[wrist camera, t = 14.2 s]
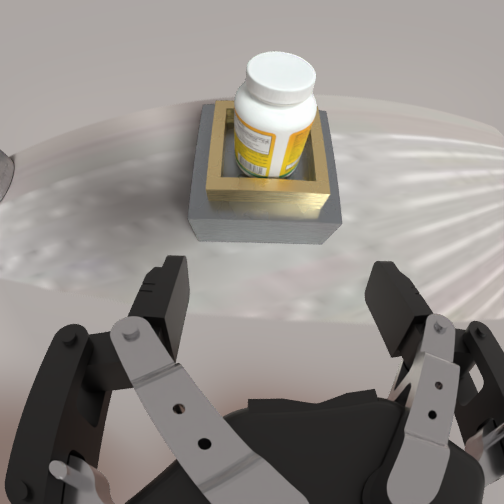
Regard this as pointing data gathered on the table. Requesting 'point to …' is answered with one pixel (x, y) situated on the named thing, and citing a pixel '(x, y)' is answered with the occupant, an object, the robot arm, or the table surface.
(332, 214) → the gold-rimmed square tray
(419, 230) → the table surface
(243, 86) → the supplement bottle
